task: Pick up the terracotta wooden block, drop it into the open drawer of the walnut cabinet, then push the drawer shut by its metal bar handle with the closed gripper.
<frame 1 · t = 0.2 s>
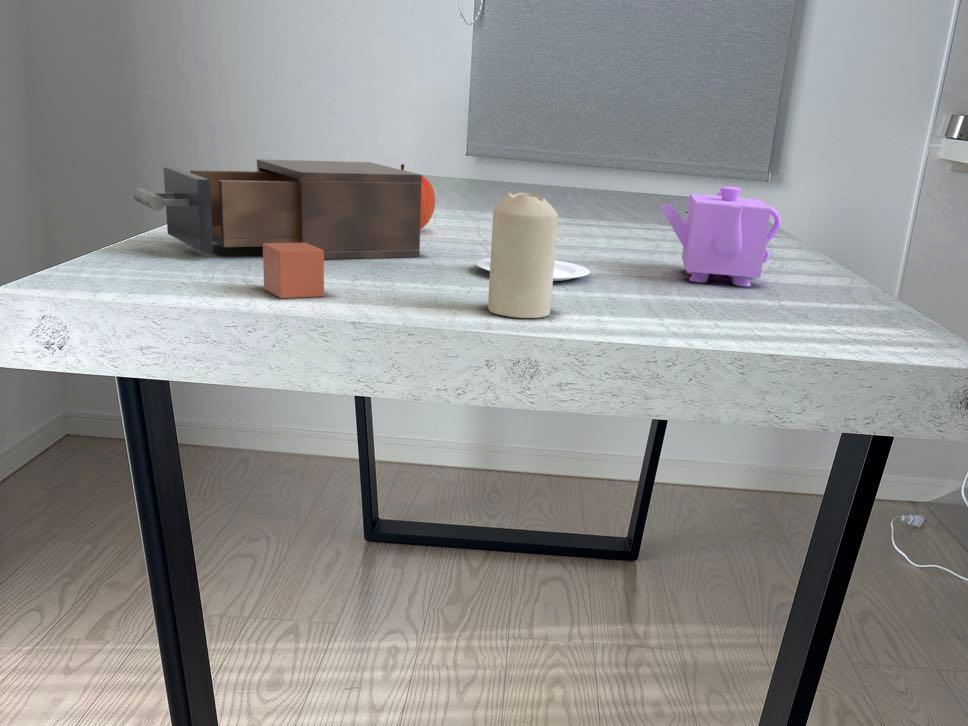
drawer: (223, 208, 109), point 4 cm above the table, slide at 9.0 cm
cabinet: (338, 248, 117), on the table
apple: (402, 232, 134), on the table
candle: (518, 314, 93), on the table
white saucer: (532, 276, 111), on the table
teapot: (711, 280, 117), on the table
block: (293, 292, 93), on the table
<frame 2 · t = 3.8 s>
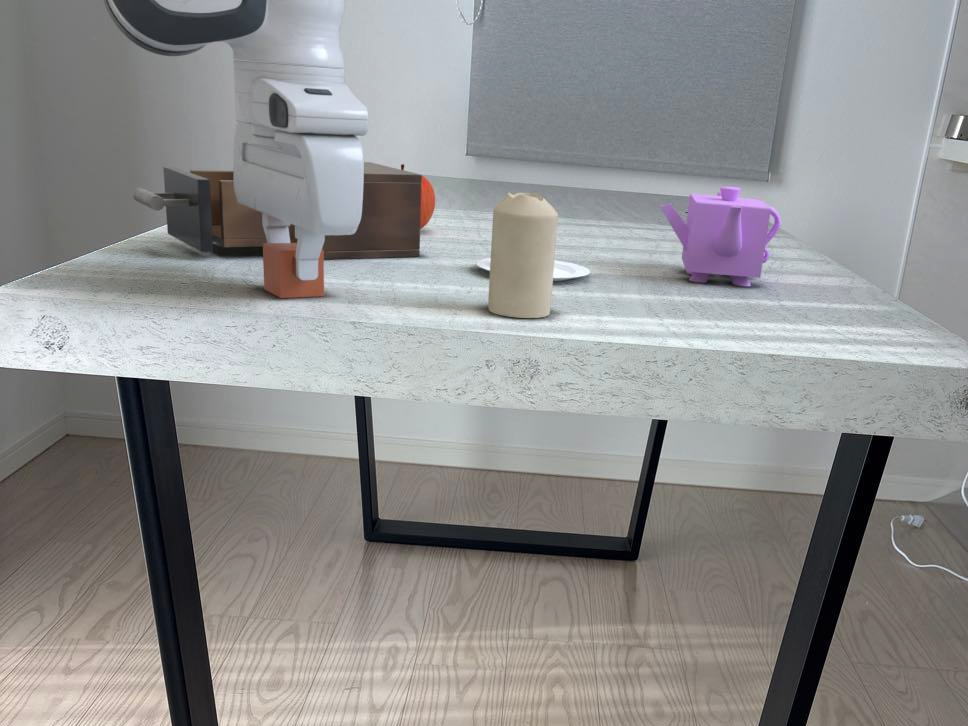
hand: (293, 273, 93), 2 cm above the table, tool pointing down, fingers closed on block, 4 cm apart
block: (293, 292, 93), on the table, touching gripper
everything else where it was.
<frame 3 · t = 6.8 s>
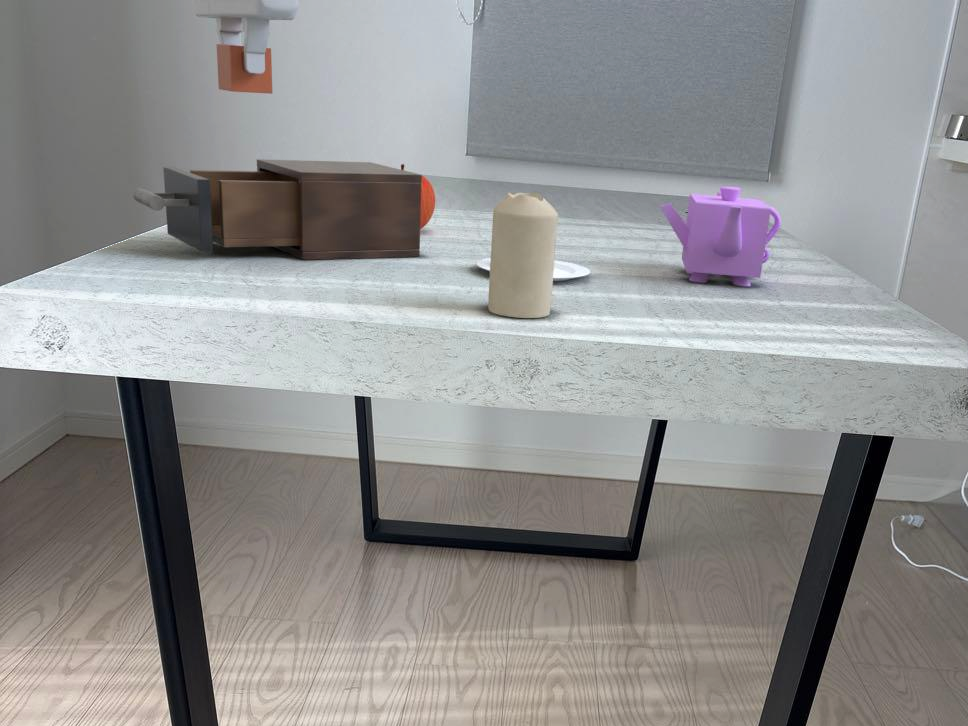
hand: (244, 72, 102), 17 cm above the table, tool pointing down, fingers closed on block, 4 cm apart
block: (245, 91, 103), point 16 cm above the table, touching gripper
everything else where it was.
when the fingers open (8 cm above the table, at t = 9.8 s): block drops 4 cm, resting on drawer.
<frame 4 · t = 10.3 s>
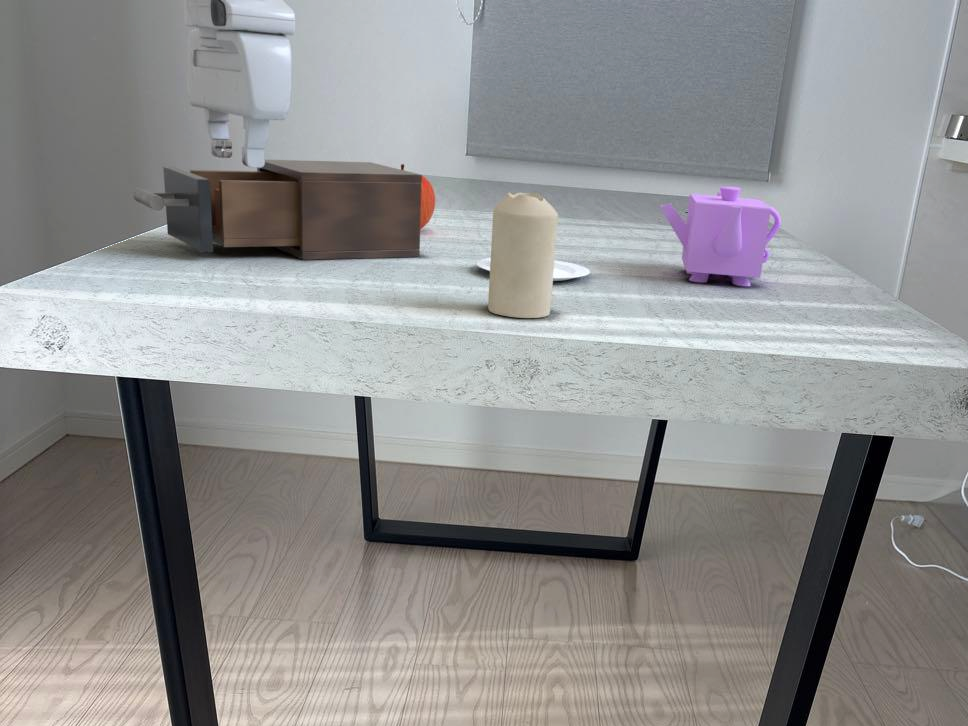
hand: (237, 162, 108), 9 cm above the table, tool pointing down, fingers open, 8 cm apart
drawer: (223, 208, 109), point 4 cm above the table, slide at 9.0 cm, touching block
block: (241, 231, 110), point 2 cm above the table, touching drawer
everything else where it was.
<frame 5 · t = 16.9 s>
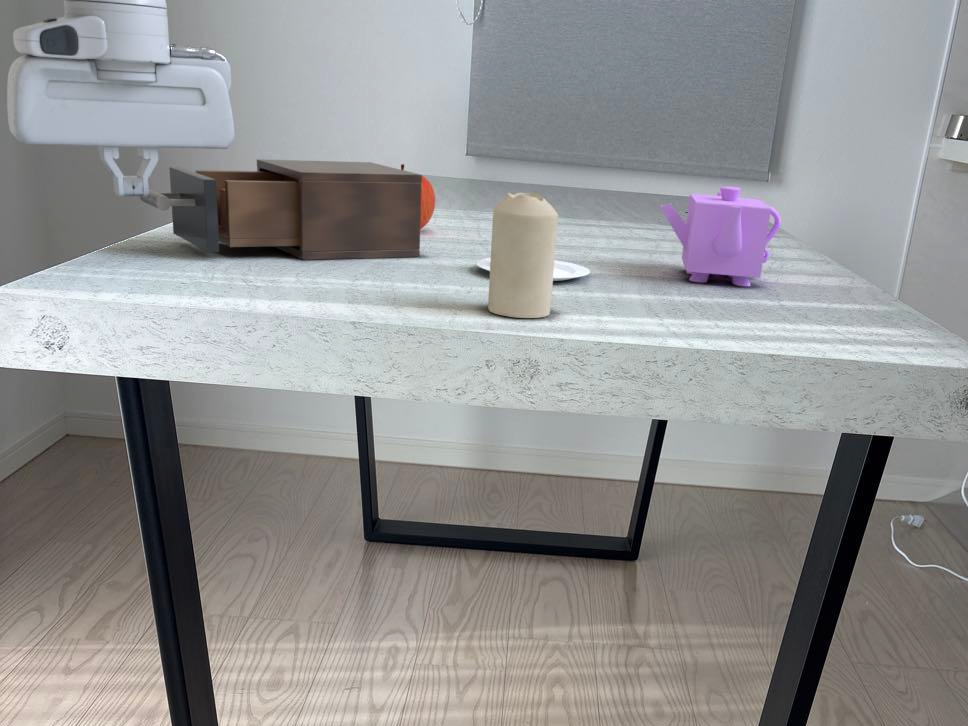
hand: (132, 195, 103), 5 cm above the table, tool pointing down, fingers closed
drawer: (229, 208, 109), point 4 cm above the table, slide at 8.4 cm, touching block, gripper
everything else where it was.
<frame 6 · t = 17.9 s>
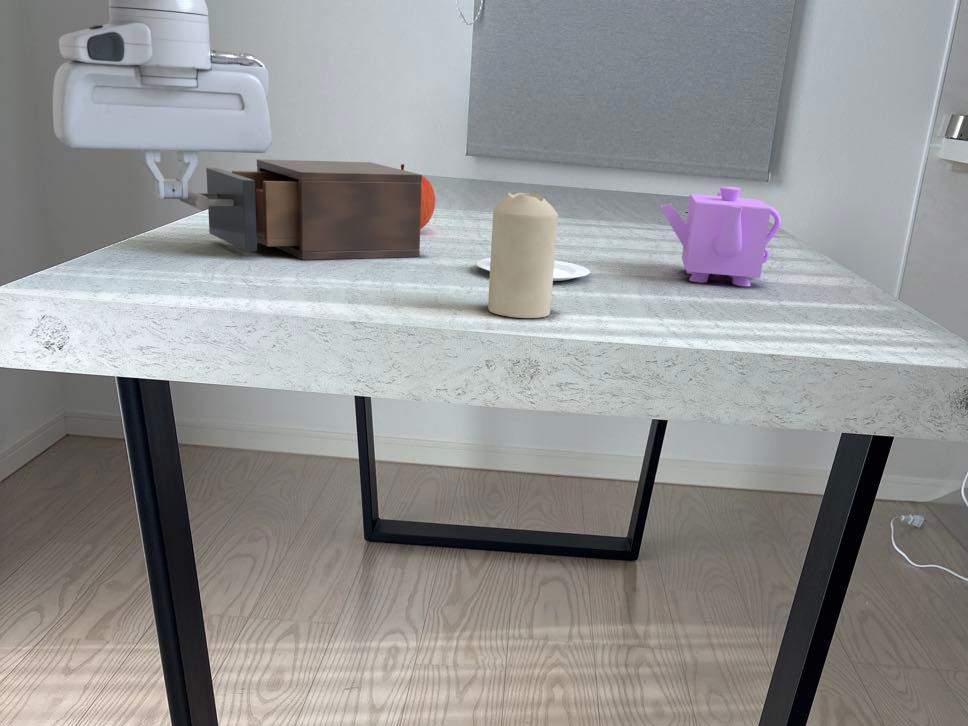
hand: (171, 198, 106), 5 cm above the table, tool pointing down, fingers closed
drawer: (265, 208, 111), point 4 cm above the table, slide at 4.5 cm, touching block, gripper
block: (281, 230, 113), point 2 cm above the table, touching drawer
everything else where it was.
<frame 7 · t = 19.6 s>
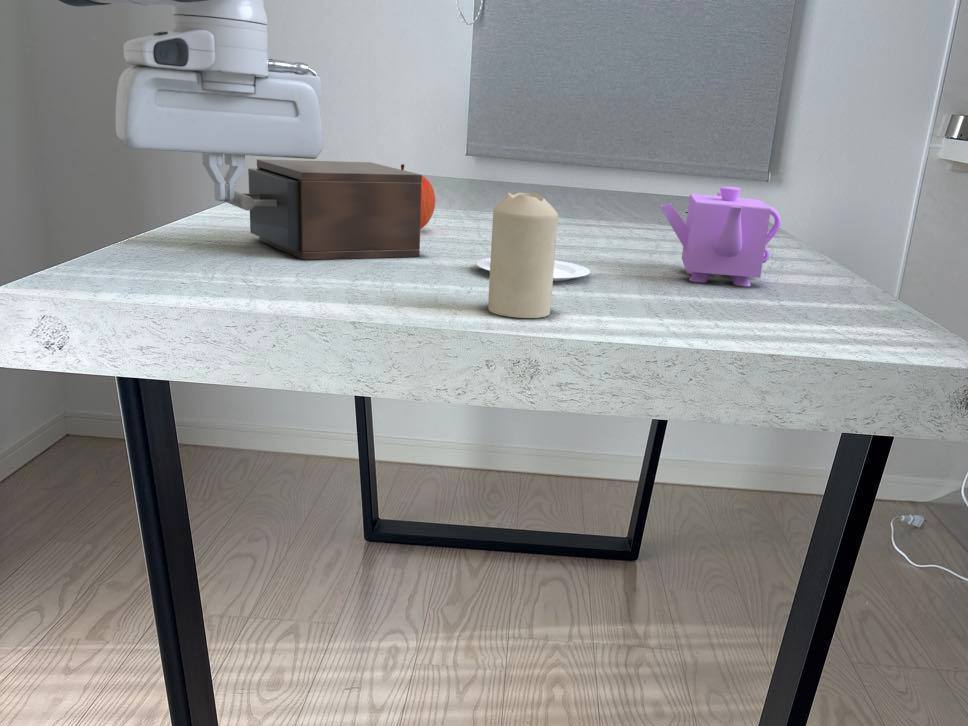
hand: (225, 201, 109), 5 cm above the table, tool pointing down, fingers closed, pressing on drawer
drawer: (306, 208, 113), point 4 cm above the table, slide at 0.0 cm, touching block, cabinet, gripper
block: (322, 230, 115), point 2 cm above the table, touching drawer
everything else where it was.
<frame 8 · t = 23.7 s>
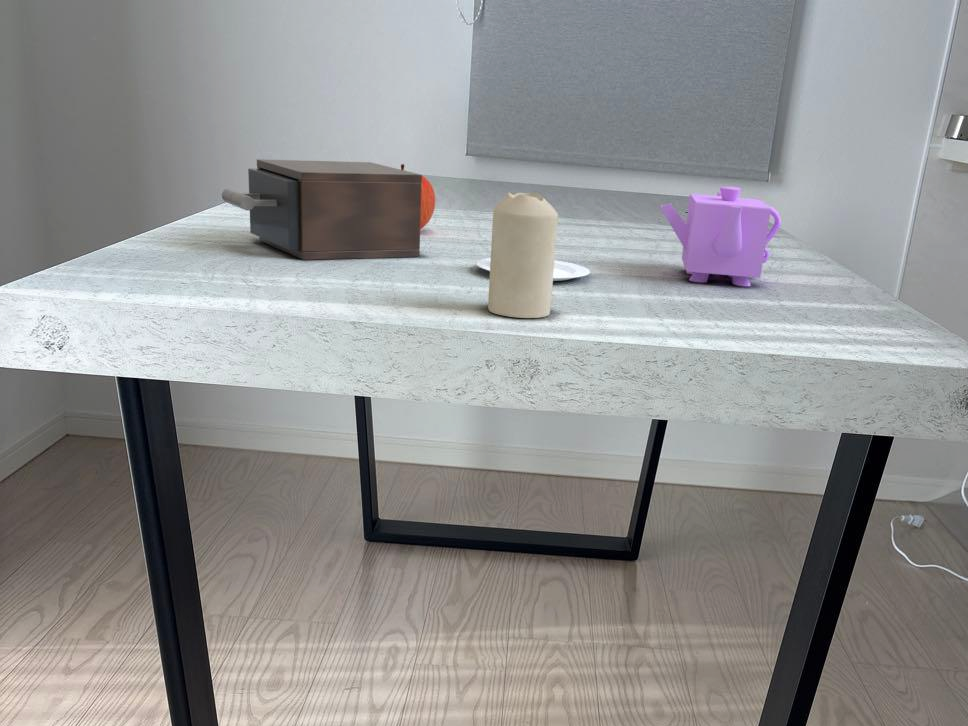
drawer: (306, 208, 113), point 4 cm above the table, slide at 0.0 cm, touching block, cabinet
everything else where it was.
at the end: block inside the target area in the cabinet (1.9 cm from its centre), point 2.0 cm above the cabinet's base; drawer slide at 0.0 cm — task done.
